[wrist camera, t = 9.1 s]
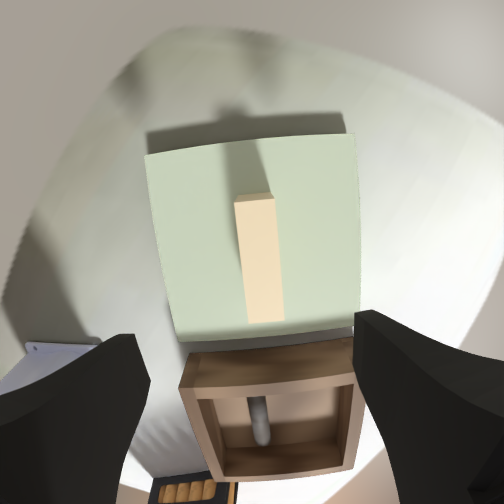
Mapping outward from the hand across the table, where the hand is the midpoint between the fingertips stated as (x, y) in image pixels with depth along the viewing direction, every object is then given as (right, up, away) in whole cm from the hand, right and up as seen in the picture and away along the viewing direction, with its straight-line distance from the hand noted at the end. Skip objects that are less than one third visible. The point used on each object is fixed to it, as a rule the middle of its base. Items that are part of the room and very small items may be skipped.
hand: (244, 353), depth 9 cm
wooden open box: (+2, -9, +13) cm, 16 cm away
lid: (+1, +4, +10) cm, 11 cm away
